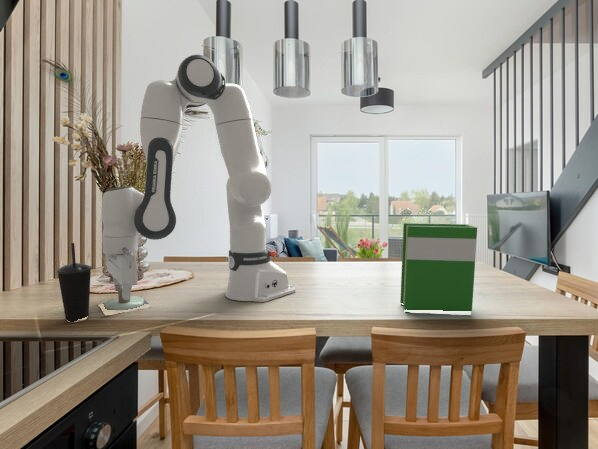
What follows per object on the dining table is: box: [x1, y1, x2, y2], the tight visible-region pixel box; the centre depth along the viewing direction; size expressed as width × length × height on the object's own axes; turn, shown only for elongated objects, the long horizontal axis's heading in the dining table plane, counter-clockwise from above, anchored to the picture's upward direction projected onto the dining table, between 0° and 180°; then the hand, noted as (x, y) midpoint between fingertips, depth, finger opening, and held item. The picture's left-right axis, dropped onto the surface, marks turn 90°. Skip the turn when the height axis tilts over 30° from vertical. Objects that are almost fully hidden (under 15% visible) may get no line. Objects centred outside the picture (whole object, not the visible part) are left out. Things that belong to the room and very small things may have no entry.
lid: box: [104, 287, 145, 310], centre depth 105 cm, size 10×10×5 cm
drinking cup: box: [55, 242, 93, 322], centre depth 94 cm, size 8×8×20 cm
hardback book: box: [399, 222, 478, 312], centre depth 104 cm, size 18×7×24 cm, turn 84°
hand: (122, 294), depth 105 cm, fingers open, 8 cm apart
